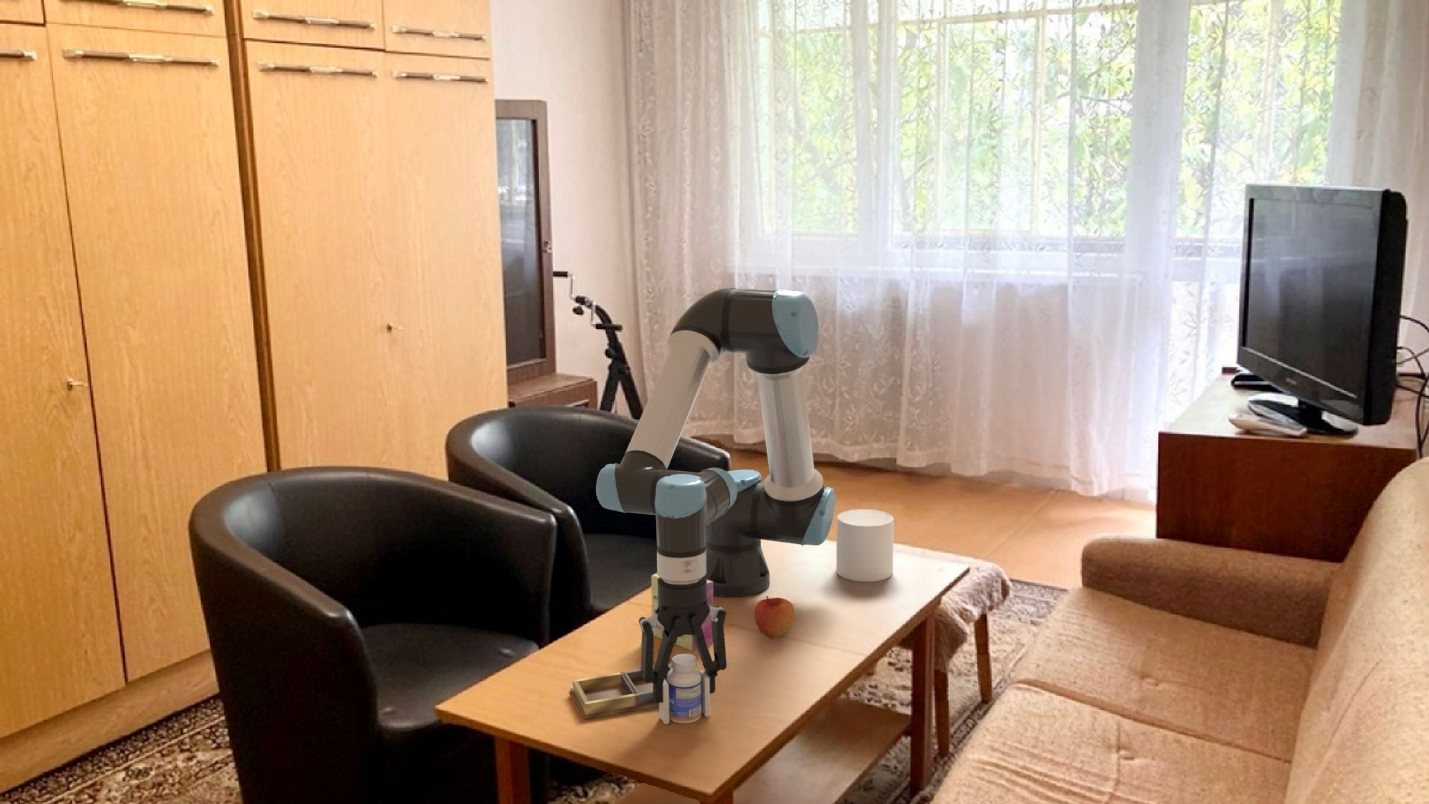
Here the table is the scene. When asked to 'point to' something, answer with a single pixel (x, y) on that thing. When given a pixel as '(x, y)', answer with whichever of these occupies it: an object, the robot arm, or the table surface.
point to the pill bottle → (684, 689)
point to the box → (684, 640)
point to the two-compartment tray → (613, 693)
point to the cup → (865, 545)
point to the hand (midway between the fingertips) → (684, 715)
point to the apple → (774, 617)
